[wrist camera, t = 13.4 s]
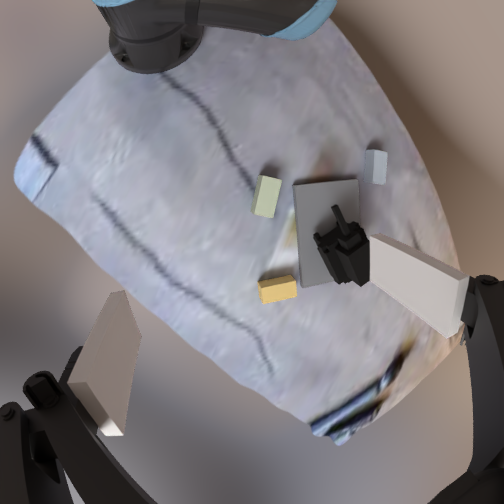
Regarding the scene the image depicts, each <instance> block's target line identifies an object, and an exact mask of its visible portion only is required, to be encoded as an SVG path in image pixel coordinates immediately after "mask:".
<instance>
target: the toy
mask: <svg viewBox="0 0 504 504" xmlns="http://www.w3.org/2000/svg"><path fill="white" fill-rule="evenodd" d="M331 209H332V211H333V213H334V215H335V217H336V219H337V222H336V223H337V225H338V226H337V227H336V228H334V229H333V230H331V231H330V232H328V233H327V234H325V235H324V236H322V237H321V236H320V234H319V233H318V232H316V233H315V234H313V236H314V237H313V239H314V241H315V242H316V244H317V246H318V248H317V249H318V251H319V253H320V255H321V257H322V259H323V261H324V263H325V265H326V267H327V269H328V271H329V273H330V275H331V276H332V277H333V279H334V281H335V282H337V283H338V284H341V283H342V282H344V283H345V284H346V283H347V282H348V283H349V282H350V281H354V282H355V283H356V284H358V285H359V286H360V287H361V286H363V285H364V284H366V283H367V282H368V281H370V241H369V240H368V239H367V237H366V234H365V232H364V229H363V228H361V227H360V225H359V223H357V222H355V221H352V222H351V223H347V222H346V221H345V219H344V217H343V215H342V212H341V210H340V208H339V206H338V205H336V204H335V205H333V206H332V207H331Z"/></svg>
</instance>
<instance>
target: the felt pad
mask: <svg viewBox="0 0 504 504" xmlns="http://www.w3.org/2000/svg"><path fill="white" fill-rule="evenodd" d="M292 186H293V196H294V206H295V217H296V229H297V241H298V254H299V269H300V285H301V287H302V288H306V287H311V286H315V285H319V284H323V283H328V282H332V281H334V279H333V277H332V276H331V275H330V273H329V271H328V269H327V267H326V265H325V263H324V261H323V259H322V257H321V255H320V253H319V251H318V249H317V248H318V246H317V244H316V242H315V241H314V239H313V237H314V236H313V234H315V233H316V232H318V233H319V234H320V236H321V237H322V236H324V235H325V234H327V233H328V232H330V231H331V230H333V229H334V228H336V227H337V226H338V225H337V223H336V222H337V219H336V217H335V215H334V213H333V211H332V209H331V207H332V206H333V205H335V204H336V205H338V206H339V208H340V210H341V212H342V215H343V217H344V219H345V221H346V222H347V223H351V222H352V221H355V222H357V223H359V225H360V204H359V185H358V179H348V180H337V181H327V182H317V183H308V184H299V185H292Z"/></svg>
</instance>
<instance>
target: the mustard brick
mask: <svg viewBox="0 0 504 504" xmlns="http://www.w3.org/2000/svg"><path fill="white" fill-rule="evenodd" d="M258 290H259V297H260V299H261V301H262V303H263V304H266V303H270V302H275V301H279V300H284V299H288V298H293V297H297V291H296V280H295V279H294V278H293V277H292V276H291V275H287V276H283V277H278V278H273V279H268V280H263V281H258Z"/></svg>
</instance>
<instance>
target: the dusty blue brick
mask: <svg viewBox="0 0 504 504" xmlns="http://www.w3.org/2000/svg"><path fill="white" fill-rule="evenodd" d="M387 155H388V152H384V151H379V150H366V157H365V172H364V182H368V183H375V184H382V185H385V183H386V170H387Z"/></svg>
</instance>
